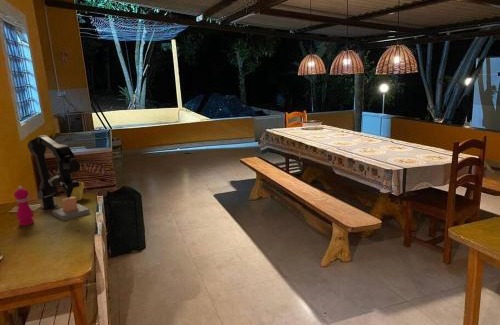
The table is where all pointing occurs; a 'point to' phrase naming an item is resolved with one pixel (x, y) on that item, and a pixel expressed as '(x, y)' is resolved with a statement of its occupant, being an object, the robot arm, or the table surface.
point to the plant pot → (78, 191)
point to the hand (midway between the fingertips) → (68, 197)
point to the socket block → (70, 213)
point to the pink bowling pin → (23, 207)
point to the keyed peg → (69, 204)
